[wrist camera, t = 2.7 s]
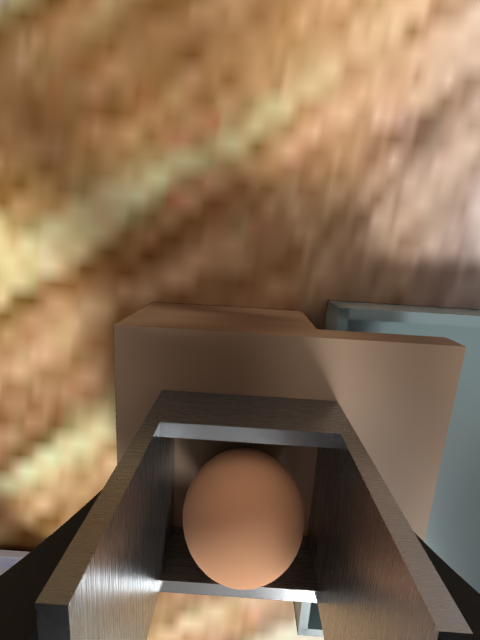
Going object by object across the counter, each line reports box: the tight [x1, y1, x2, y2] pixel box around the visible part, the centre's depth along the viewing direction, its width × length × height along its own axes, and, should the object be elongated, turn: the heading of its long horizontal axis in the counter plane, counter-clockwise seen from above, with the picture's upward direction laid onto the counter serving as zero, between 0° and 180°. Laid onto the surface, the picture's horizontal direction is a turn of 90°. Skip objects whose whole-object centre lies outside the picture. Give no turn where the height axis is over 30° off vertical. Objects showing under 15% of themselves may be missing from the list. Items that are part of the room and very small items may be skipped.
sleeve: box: [35, 390, 473, 640], centre depth 7 cm, size 5×5×6 cm
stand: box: [114, 302, 466, 541], centre depth 12 cm, size 10×9×4 cm
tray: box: [293, 300, 480, 637], centre depth 14 cm, size 11×15×2 cm
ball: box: [183, 448, 305, 590], centre depth 9 cm, size 3×3×3 cm
